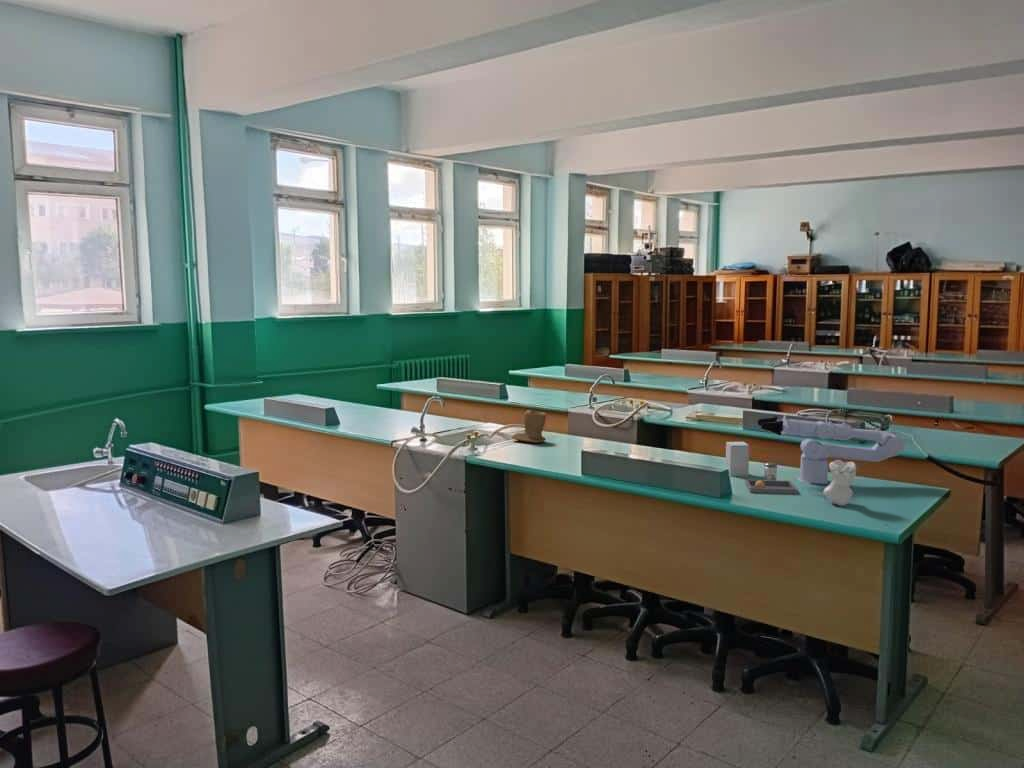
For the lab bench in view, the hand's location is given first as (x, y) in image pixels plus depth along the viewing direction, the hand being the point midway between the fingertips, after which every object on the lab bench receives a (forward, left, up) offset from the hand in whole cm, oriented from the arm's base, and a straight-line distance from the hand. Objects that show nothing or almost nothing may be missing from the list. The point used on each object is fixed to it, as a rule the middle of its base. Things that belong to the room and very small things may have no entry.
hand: (759, 423), depth 298 cm
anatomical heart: (-22, +32, -22) cm, 45 cm away
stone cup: (+95, -63, -22) cm, 116 cm away
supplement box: (+7, -7, -22) cm, 24 cm away
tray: (-2, +15, -22) cm, 26 cm away
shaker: (-4, +3, -22) cm, 22 cm away
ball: (+2, +17, -21) cm, 27 cm away
